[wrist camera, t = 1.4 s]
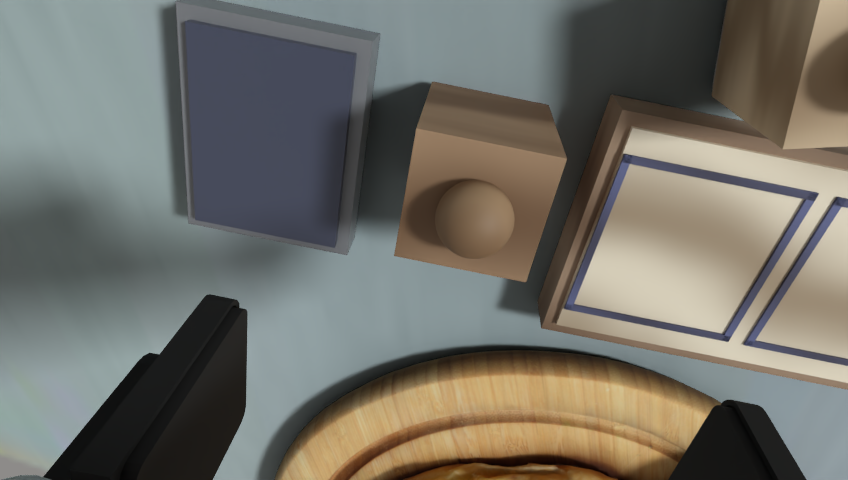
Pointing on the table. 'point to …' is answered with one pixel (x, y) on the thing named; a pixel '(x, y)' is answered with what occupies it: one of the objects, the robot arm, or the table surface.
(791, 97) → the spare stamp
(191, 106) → the ink pad
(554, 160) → the stamp
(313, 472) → the wooden plate with food
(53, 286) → the table surface
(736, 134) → the form board
